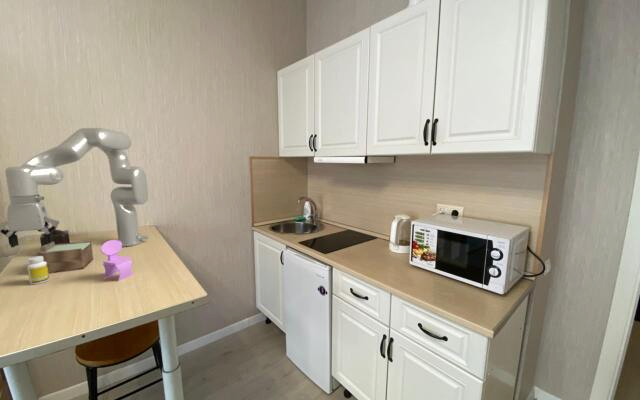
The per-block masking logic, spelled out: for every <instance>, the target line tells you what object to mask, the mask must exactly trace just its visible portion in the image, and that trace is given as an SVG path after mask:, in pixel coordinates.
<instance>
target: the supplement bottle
mask: <svg viewBox="0 0 640 400" xmlns="http://www.w3.org/2000/svg"><path fill="white" fill-rule="evenodd" d="M43 260H44V258H43V256H38V255H36V256H33V257H29V258H28V263H29V264H28V265H27V266H26V269H27V274H28V275H27V276H28V281H29V284H30V285H40V284H44V283H46V282H48V281H49V280H50V273H49V274H48V267H47V263H46V262H45V261H43Z"/></svg>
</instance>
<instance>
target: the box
mask: <svg viewBox="0 0 640 400" xmlns="http://www.w3.org/2000/svg"><path fill="white" fill-rule="evenodd" d="M88 242H90V244H89V245H88V246H87V247H85V248H84V249H83V250H82V248H81V249H71V250H61V251H52V252H42V253H40V252H38V253H37V255H36V256H43V258H44V260H43V261H45V262H46V263H47V267H48V274H49V275H50V274H57V273H65V272H73V271H79V270H84V269H86V267H88V265H89V264H91V262H92V261H94V254H93V246H92V241H91V240H87V241H79V242H77V241H76V242H70V243H65V244H55V246H57V245H67V244H78V243H88Z"/></svg>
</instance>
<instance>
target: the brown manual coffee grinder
mask: <svg viewBox="0 0 640 400" xmlns="http://www.w3.org/2000/svg"><path fill="white" fill-rule="evenodd" d="M50 224H51V225H52V223H50ZM36 231H38V232H41V235H40V238H39V239H40V246H41V247H42V246H44V245H46V244H45V240H44V234H45V233H44V232H43V231H42V230H36ZM52 242H54V243H55V244H65V243H71V241H70V233H69V230H68V229H67V230H60V229H57V228H56V229H55V230H54V231H53V232H52Z"/></svg>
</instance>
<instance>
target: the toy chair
mask: <svg viewBox="0 0 640 400" xmlns="http://www.w3.org/2000/svg"><path fill="white" fill-rule="evenodd" d="M121 250H122V243H121V242H120V241H118V239H117V240H116V239H111V240H107V241H105V242H104V243H103V244H102V245H101V247H100V253H101V254H103V255H105V256H107V258H108V259H107V260H104V261H103V264H102V265H103V268H104V274H103V276H102V280H103V279H106V278H108V277H110V276H113V275H116V274H118V273H119V276H118V279H117V282H120V281H122V280H125V279H127V278H129V277H132V276H133V275H134V274H133V271H132V263H133V262H132V259H131V257H128V256H121V255H118V253H119V252H121Z"/></svg>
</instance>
